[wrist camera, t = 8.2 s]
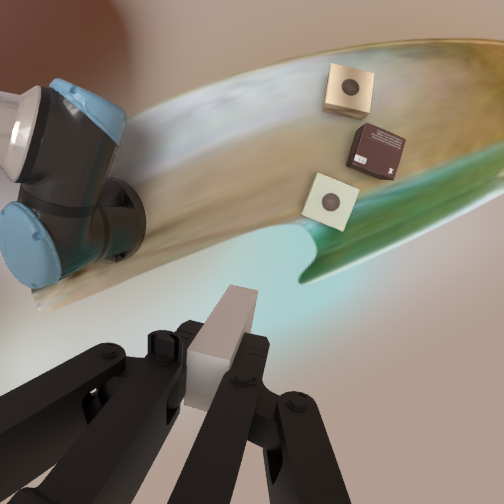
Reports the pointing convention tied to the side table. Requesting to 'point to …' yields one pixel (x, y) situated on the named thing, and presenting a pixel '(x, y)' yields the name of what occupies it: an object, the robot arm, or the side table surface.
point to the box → (376, 152)
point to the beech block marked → (348, 92)
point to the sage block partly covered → (329, 201)
